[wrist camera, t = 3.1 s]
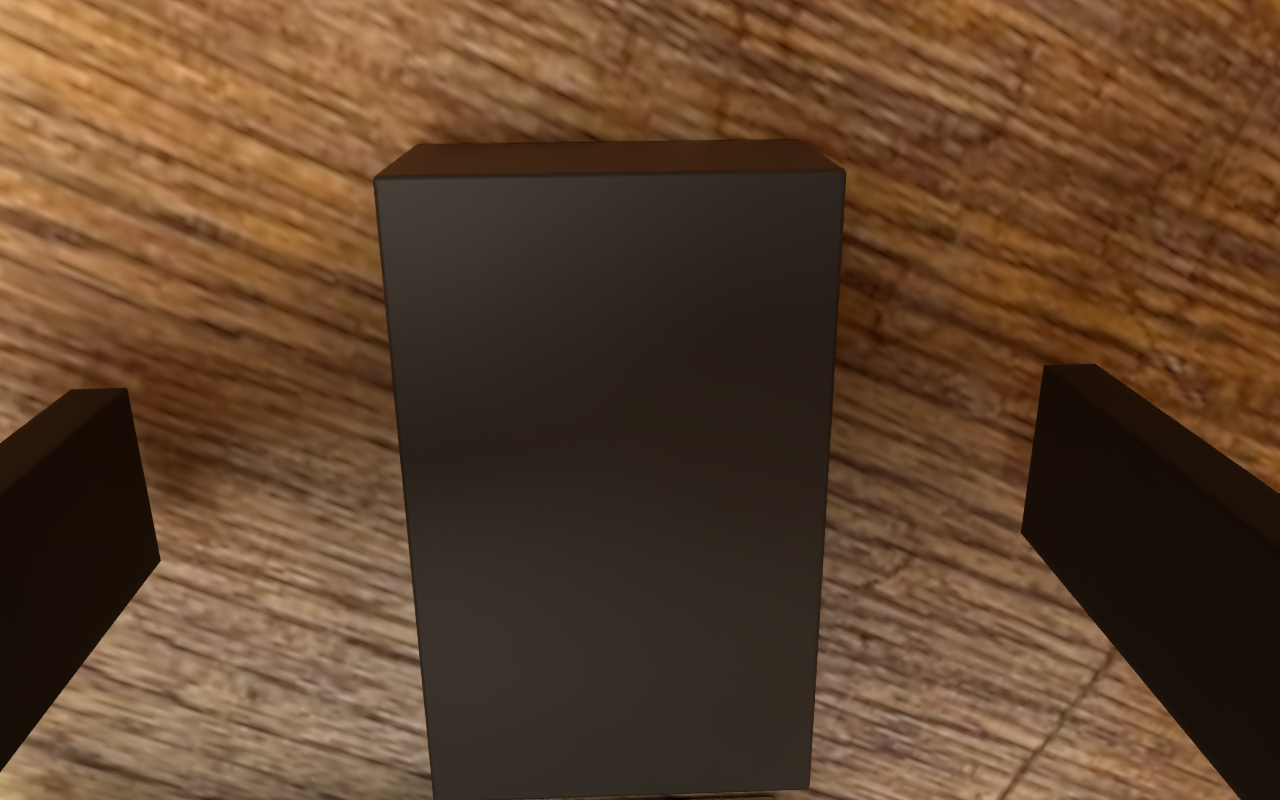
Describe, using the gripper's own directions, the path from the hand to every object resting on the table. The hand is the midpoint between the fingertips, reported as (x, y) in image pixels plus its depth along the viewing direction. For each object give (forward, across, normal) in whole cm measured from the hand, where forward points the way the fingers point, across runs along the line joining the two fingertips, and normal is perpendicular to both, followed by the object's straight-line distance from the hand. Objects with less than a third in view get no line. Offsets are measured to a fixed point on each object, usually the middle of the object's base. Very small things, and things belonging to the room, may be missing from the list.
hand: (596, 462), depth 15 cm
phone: (+1, 0, 0) cm, 1 cm away
